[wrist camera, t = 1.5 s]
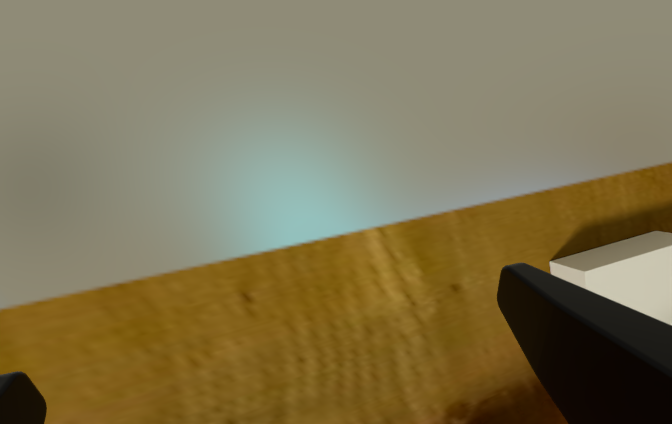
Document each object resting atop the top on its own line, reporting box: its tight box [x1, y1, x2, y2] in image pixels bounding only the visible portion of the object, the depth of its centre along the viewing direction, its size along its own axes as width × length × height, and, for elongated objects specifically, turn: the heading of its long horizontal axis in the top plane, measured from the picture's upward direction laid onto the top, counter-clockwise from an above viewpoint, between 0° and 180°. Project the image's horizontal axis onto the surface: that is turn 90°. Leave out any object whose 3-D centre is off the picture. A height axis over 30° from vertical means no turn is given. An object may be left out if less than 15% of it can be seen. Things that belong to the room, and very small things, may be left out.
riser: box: [550, 231, 672, 325], centre depth 29 cm, size 10×10×3 cm
